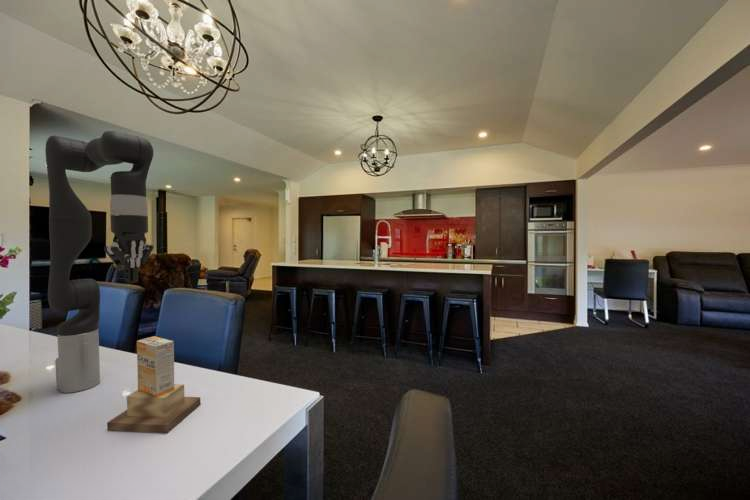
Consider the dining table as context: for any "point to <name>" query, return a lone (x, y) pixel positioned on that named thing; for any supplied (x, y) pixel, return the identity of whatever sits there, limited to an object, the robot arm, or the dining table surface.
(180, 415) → the board
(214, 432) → the dining table surface
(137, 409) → the oak block
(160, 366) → the supplement box
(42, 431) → the dining table surface
